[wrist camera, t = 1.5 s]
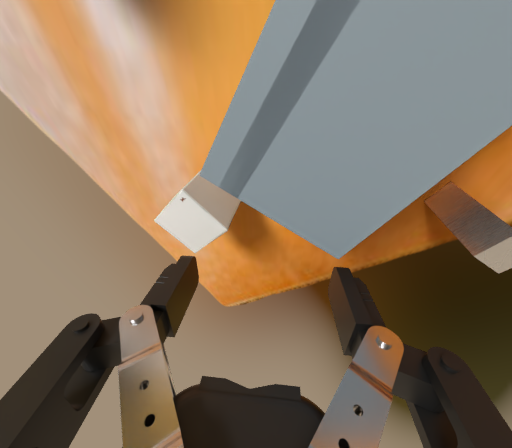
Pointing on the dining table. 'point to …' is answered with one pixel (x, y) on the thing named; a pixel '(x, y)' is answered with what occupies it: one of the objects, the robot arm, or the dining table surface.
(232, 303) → the dining table surface
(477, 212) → the peg
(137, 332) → the robot arm
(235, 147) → the coffee dispenser stand
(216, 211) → the supplement box
